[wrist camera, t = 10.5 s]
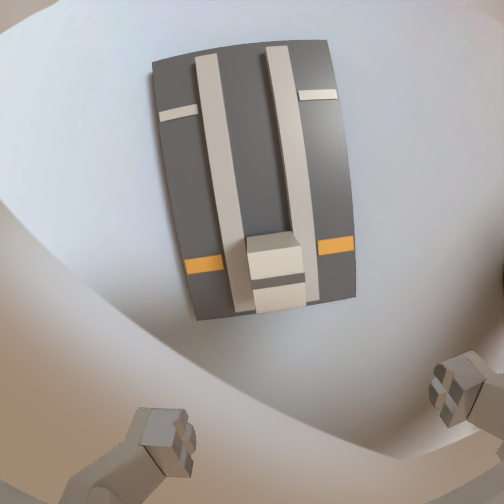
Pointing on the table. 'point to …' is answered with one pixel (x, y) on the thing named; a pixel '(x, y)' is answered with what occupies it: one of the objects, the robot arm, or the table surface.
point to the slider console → (256, 167)
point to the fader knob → (276, 271)
